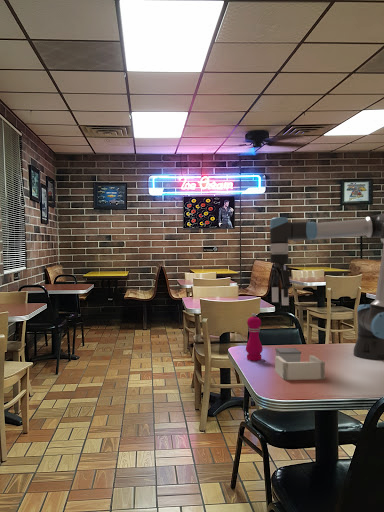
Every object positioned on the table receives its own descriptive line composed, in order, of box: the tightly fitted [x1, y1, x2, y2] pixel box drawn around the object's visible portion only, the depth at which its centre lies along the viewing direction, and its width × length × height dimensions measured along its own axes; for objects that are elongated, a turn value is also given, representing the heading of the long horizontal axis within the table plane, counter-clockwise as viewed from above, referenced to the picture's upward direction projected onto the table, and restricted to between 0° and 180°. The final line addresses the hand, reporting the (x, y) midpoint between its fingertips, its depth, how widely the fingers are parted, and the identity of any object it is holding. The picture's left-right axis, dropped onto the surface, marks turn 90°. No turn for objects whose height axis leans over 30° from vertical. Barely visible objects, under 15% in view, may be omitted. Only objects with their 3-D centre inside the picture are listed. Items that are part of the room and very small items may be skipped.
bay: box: [274, 354, 326, 381], centre depth 158 cm, size 15×12×6 cm
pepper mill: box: [245, 312, 263, 362], centre depth 184 cm, size 7×7×20 cm
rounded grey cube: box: [274, 347, 302, 362], centre depth 172 cm, size 8×7×7 cm
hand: (280, 303), depth 180 cm, fingers open, 13 cm apart
